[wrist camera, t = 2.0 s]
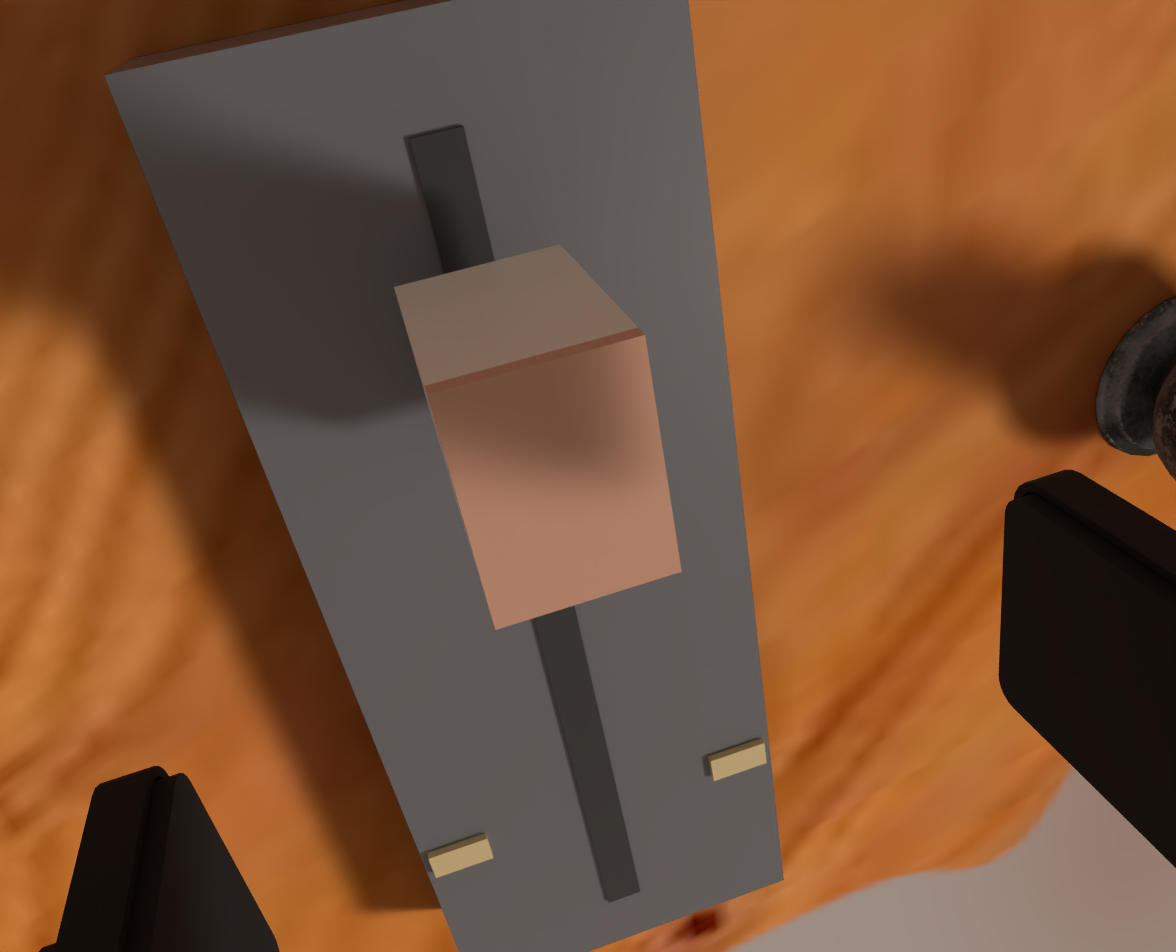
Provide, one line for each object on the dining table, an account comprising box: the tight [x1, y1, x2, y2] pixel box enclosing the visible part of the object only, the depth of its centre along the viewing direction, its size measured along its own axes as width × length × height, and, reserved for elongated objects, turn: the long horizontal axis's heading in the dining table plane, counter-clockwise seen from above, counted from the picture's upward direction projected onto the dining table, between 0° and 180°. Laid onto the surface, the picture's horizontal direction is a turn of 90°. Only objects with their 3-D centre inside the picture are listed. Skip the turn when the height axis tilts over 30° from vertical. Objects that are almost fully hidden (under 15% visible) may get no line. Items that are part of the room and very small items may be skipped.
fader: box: [394, 244, 682, 630], centre depth 16 cm, size 4×3×6 cm
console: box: [104, 0, 784, 952], centre depth 24 cm, size 26×10×3 cm, turn 10°
